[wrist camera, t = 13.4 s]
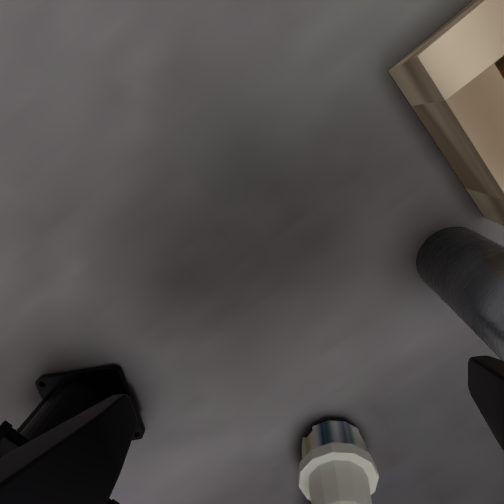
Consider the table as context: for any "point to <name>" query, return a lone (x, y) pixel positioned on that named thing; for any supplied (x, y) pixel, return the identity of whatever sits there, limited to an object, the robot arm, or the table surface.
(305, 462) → the grey knobbed rod
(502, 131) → the socket block
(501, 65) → the square bit
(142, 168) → the table surface
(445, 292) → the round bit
